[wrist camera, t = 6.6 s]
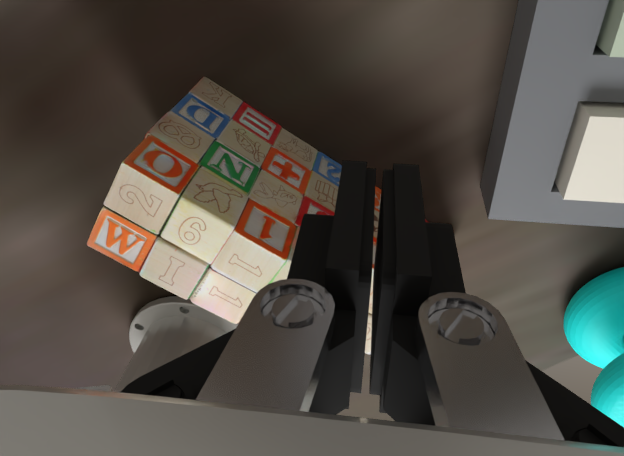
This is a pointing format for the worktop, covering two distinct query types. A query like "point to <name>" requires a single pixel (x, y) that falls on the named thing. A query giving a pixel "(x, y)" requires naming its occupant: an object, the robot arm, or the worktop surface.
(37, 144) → the worktop surface
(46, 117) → the worktop surface
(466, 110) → the worktop surface
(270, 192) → the stack of blocks
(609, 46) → the sage key
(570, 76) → the key panel
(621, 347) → the donuts
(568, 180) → the cream key
